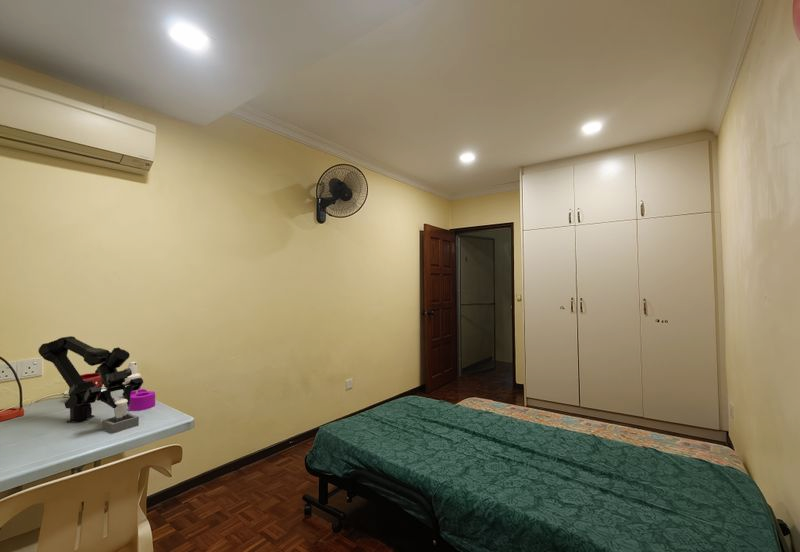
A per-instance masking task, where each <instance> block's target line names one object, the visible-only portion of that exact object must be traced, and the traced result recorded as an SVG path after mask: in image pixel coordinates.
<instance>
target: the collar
mask: <svg viewBox="0 0 800 552" xmlns="http://www.w3.org/2000/svg"><path fill="white" fill-rule="evenodd" d="M138 426H139V416H138V415H135V414H132V413H128V412H126V420H123V421H120V422H117V423H115V416H112V417H109V418H105V419H101V430H103V431H106V432H108V433H110V434H112V435H113V434H115V433H119V432H121V431H125V430H128V429H132V428H134V427H138Z"/></svg>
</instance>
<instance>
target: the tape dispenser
mask: <svg viewBox="0 0 800 552" xmlns="http://www.w3.org/2000/svg"><path fill="white" fill-rule="evenodd" d="M154 407H156V391H154V390H153V391H152V390H151V391H148V390H146V389H145V388H141V389H139V390H138V393H136V391H132V392H131V394H130V404H129V405H128V404H127V408H129V410H128V411H131V412H140V411H145V410H146V411H147V410H151V409H152V408H154Z"/></svg>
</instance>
